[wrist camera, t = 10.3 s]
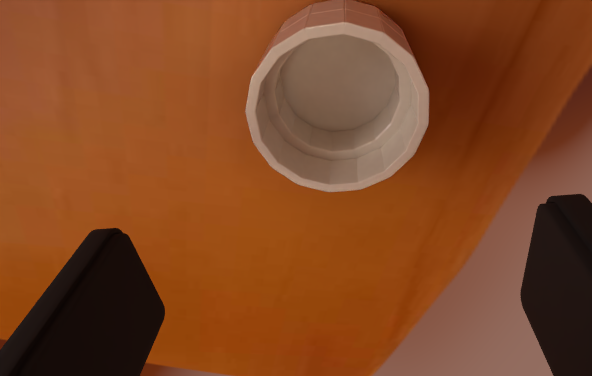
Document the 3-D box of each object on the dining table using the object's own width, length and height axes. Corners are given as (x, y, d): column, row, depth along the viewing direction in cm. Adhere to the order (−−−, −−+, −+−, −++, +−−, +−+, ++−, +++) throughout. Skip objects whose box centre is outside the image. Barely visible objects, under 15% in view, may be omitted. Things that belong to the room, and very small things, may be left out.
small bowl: (250, 10, 18) (226, 39, 14) (412, -15, 17) (431, 9, 13) (279, 146, 22) (266, 197, 18) (412, 133, 20) (427, 185, 17)
